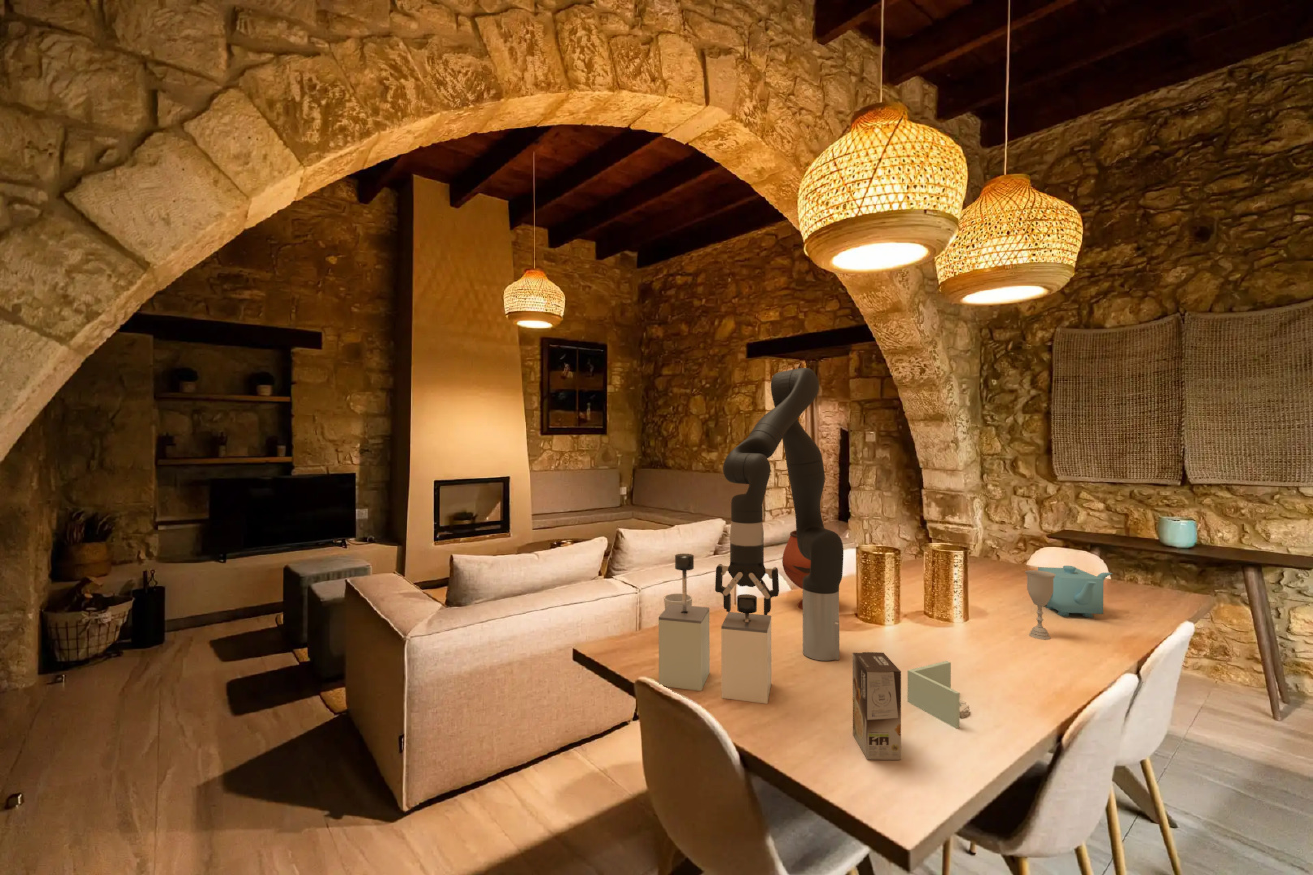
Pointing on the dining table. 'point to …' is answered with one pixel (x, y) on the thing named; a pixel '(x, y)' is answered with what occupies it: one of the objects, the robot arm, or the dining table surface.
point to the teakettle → (1076, 591)
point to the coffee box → (877, 706)
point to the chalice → (1040, 597)
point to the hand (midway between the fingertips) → (746, 612)
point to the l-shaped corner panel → (936, 693)
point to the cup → (676, 599)
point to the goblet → (795, 563)
